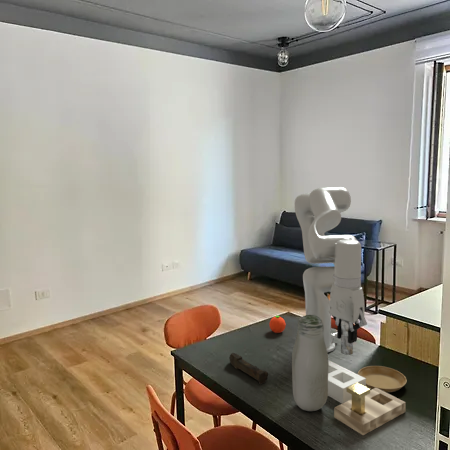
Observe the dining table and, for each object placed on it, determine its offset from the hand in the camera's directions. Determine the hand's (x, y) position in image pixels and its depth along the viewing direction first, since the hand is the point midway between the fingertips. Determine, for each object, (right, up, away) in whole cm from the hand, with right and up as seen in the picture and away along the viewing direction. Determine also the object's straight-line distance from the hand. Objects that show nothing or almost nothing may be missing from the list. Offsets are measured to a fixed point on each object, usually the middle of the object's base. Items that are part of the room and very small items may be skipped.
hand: (346, 339), depth 130 cm
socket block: (+4, -19, -9) cm, 21 cm away
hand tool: (-30, -17, +18) cm, 39 cm away
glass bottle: (-12, -19, -4) cm, 23 cm away
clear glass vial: (0, -4, +1) cm, 4 cm away
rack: (-2, -17, +6) cm, 18 cm away
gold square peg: (0, -19, -12) cm, 22 cm away
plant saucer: (+13, -17, +8) cm, 23 cm away
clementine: (-15, -11, +53) cm, 56 cm away
